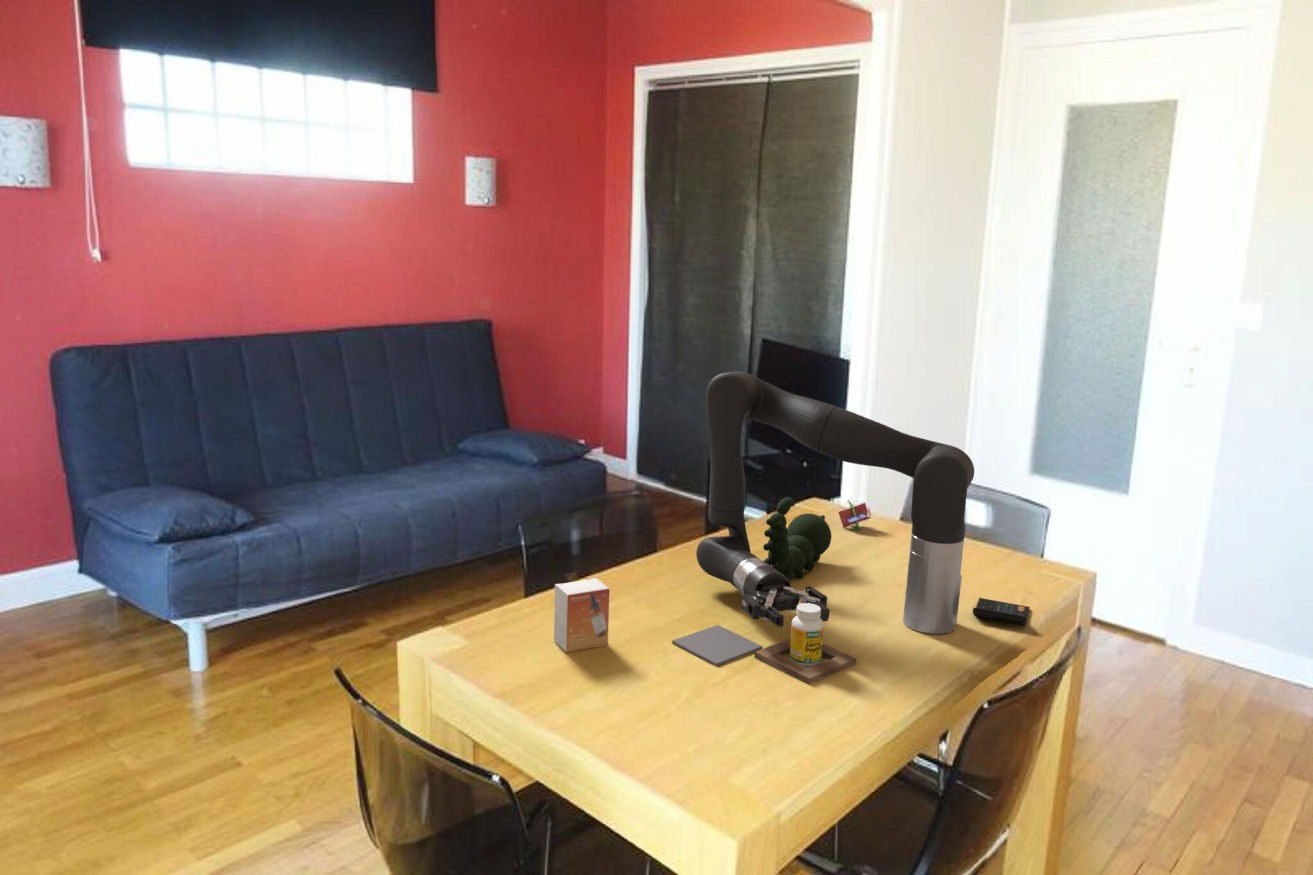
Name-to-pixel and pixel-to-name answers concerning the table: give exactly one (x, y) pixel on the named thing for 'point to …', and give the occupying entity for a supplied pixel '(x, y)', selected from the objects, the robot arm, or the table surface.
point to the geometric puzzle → (854, 515)
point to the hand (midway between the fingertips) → (804, 619)
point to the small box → (581, 615)
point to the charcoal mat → (717, 645)
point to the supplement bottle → (807, 635)
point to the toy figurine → (795, 541)
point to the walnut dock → (808, 675)
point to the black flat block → (1001, 611)
